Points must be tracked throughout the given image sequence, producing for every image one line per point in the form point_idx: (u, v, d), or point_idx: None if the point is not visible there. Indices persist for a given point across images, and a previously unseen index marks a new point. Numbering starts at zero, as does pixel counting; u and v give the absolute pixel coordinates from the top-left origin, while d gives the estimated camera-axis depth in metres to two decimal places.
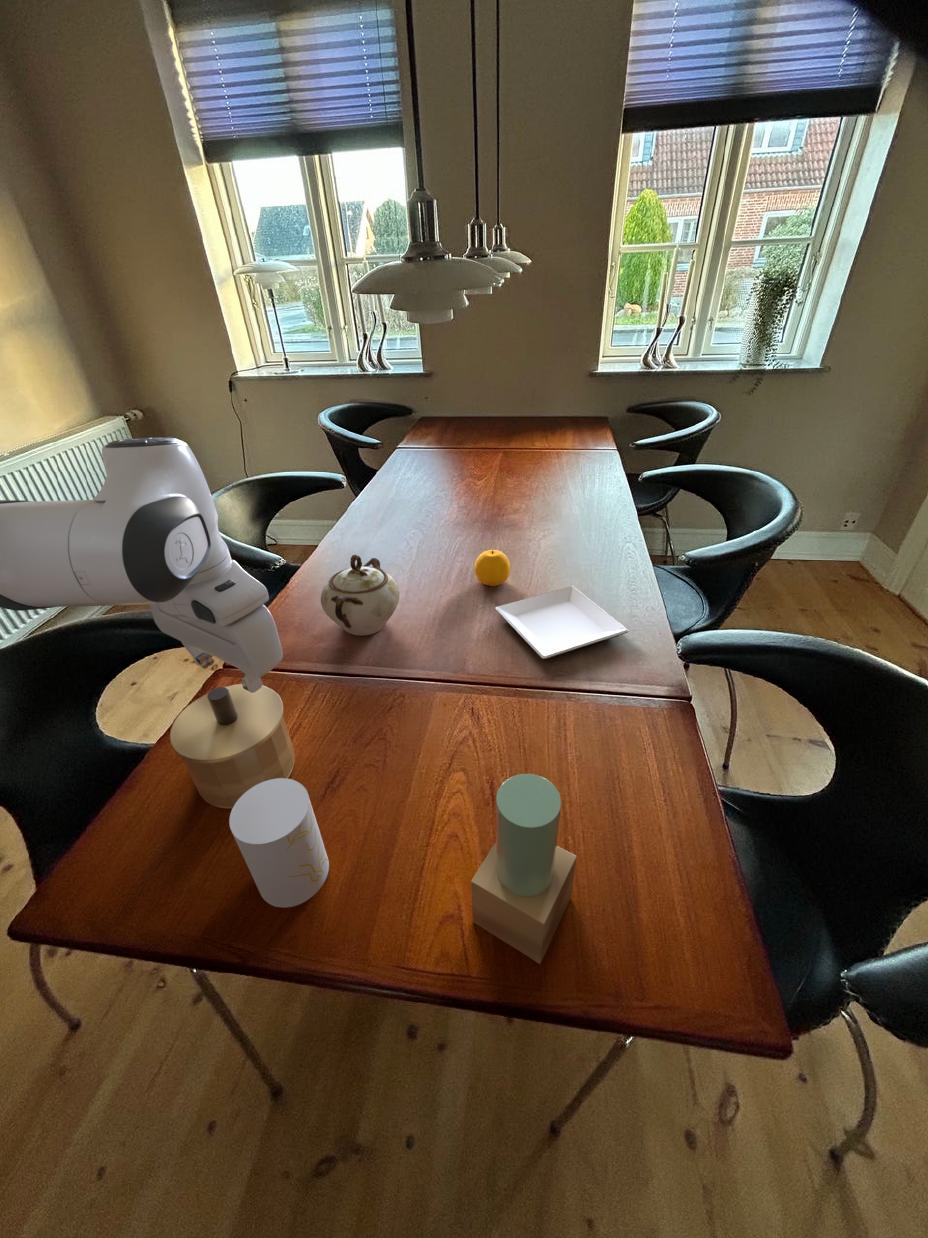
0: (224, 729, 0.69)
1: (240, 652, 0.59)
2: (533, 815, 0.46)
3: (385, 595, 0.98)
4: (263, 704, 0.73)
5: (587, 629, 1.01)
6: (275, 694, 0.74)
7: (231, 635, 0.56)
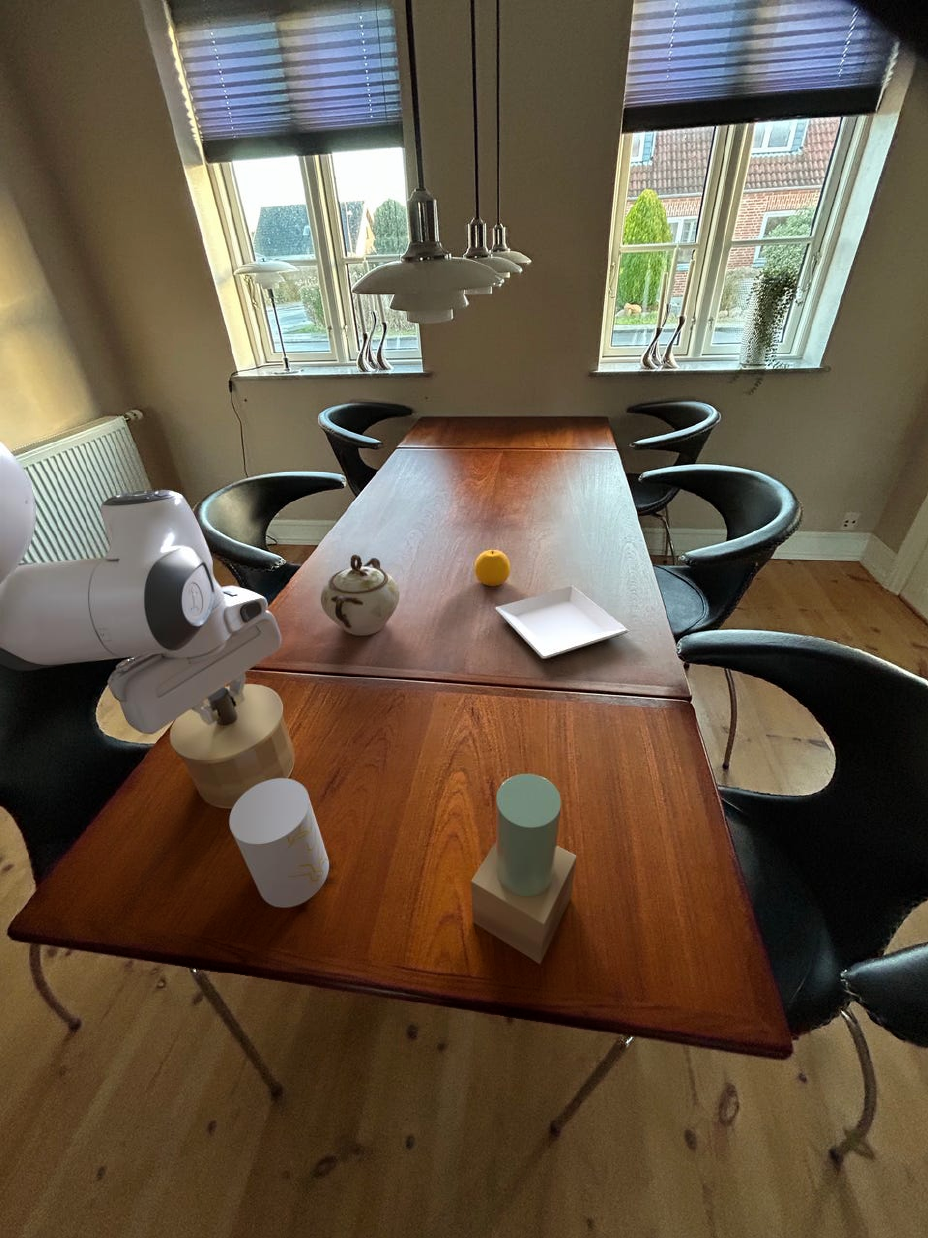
0: (224, 729, 0.69)
1: (265, 636, 0.70)
2: (533, 815, 0.46)
3: (385, 595, 0.98)
4: (263, 704, 0.72)
5: (587, 629, 1.01)
6: (275, 694, 0.74)
7: (267, 616, 0.68)
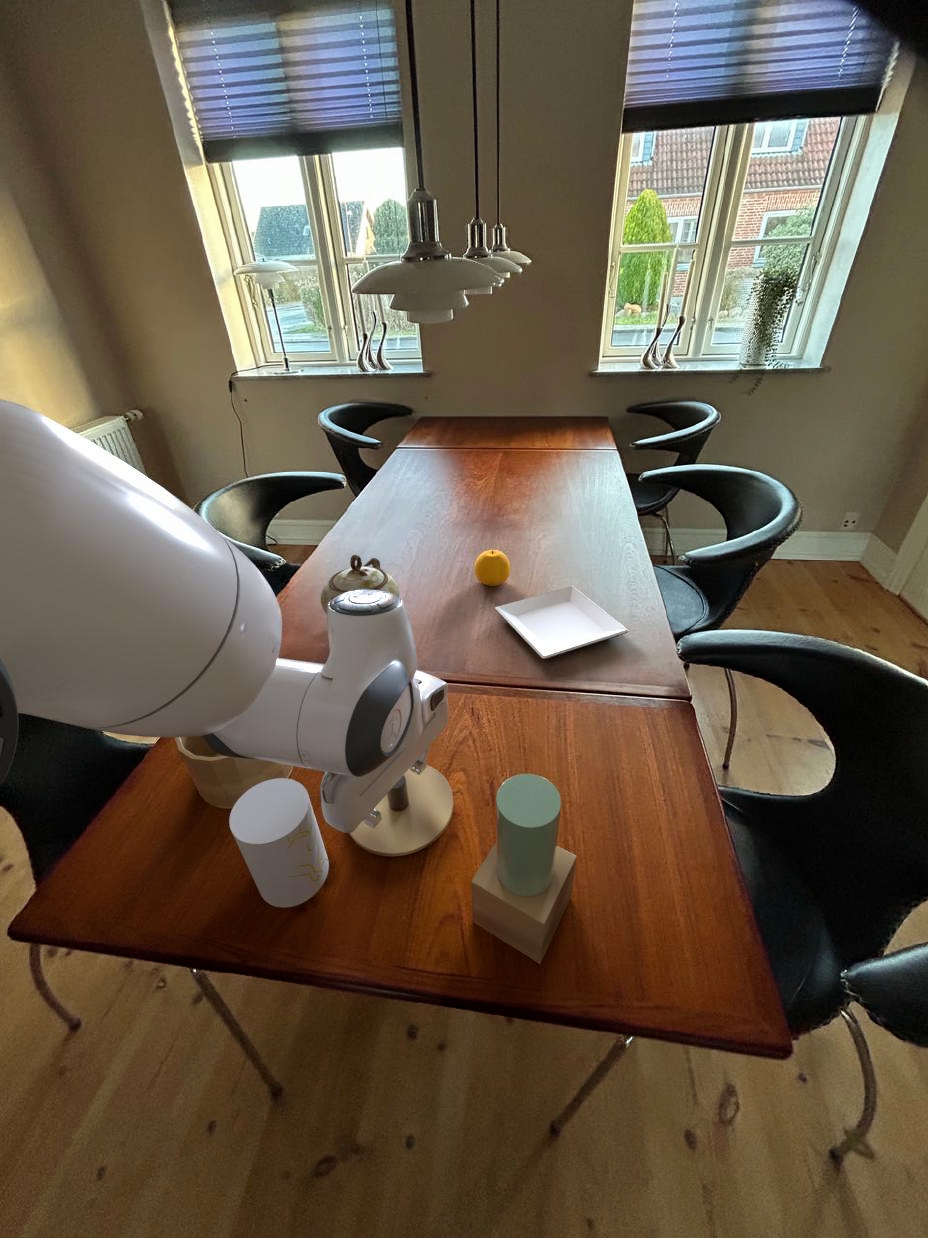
0: (399, 816, 0.67)
1: (438, 718, 0.68)
2: (533, 815, 0.46)
3: None
4: (430, 786, 0.71)
5: (587, 629, 1.01)
6: (439, 774, 0.73)
7: (444, 700, 0.67)
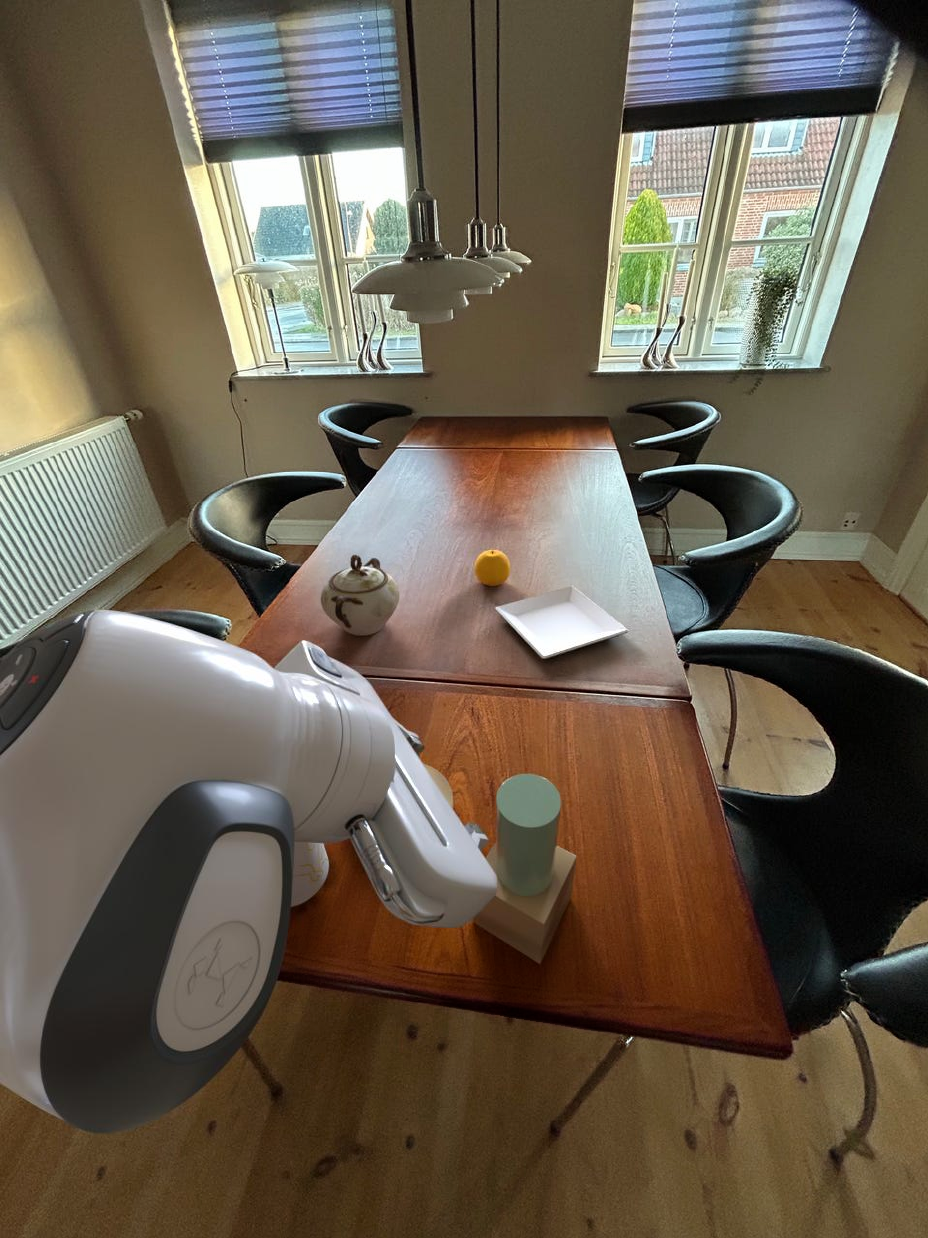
0: None
1: (353, 683, 0.40)
2: (533, 815, 0.46)
3: (385, 595, 0.98)
4: None
5: (587, 629, 1.01)
6: (439, 774, 0.73)
7: None
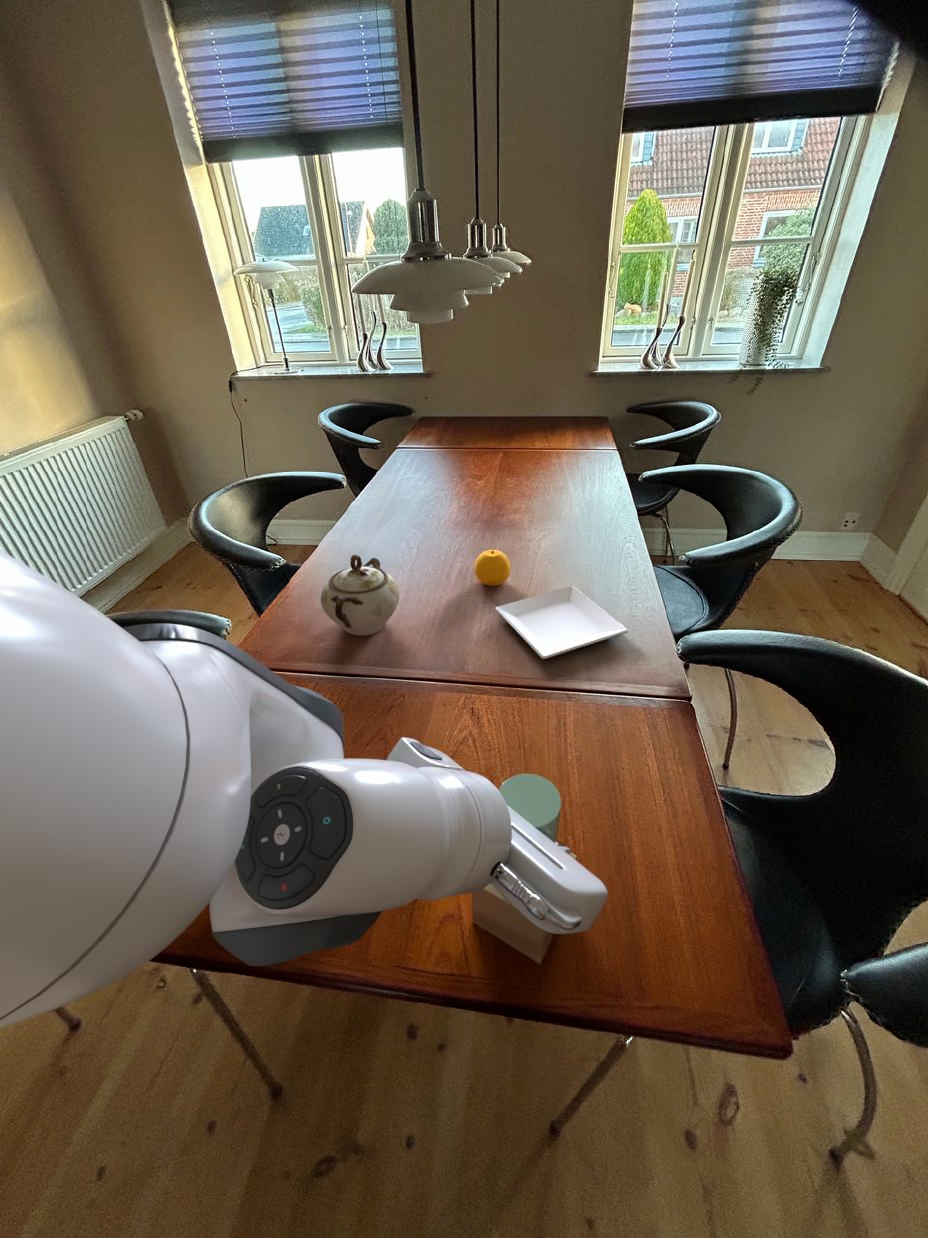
0: None
1: None
2: (533, 815, 0.46)
3: (385, 595, 0.98)
4: None
5: (587, 629, 1.01)
6: None
7: None
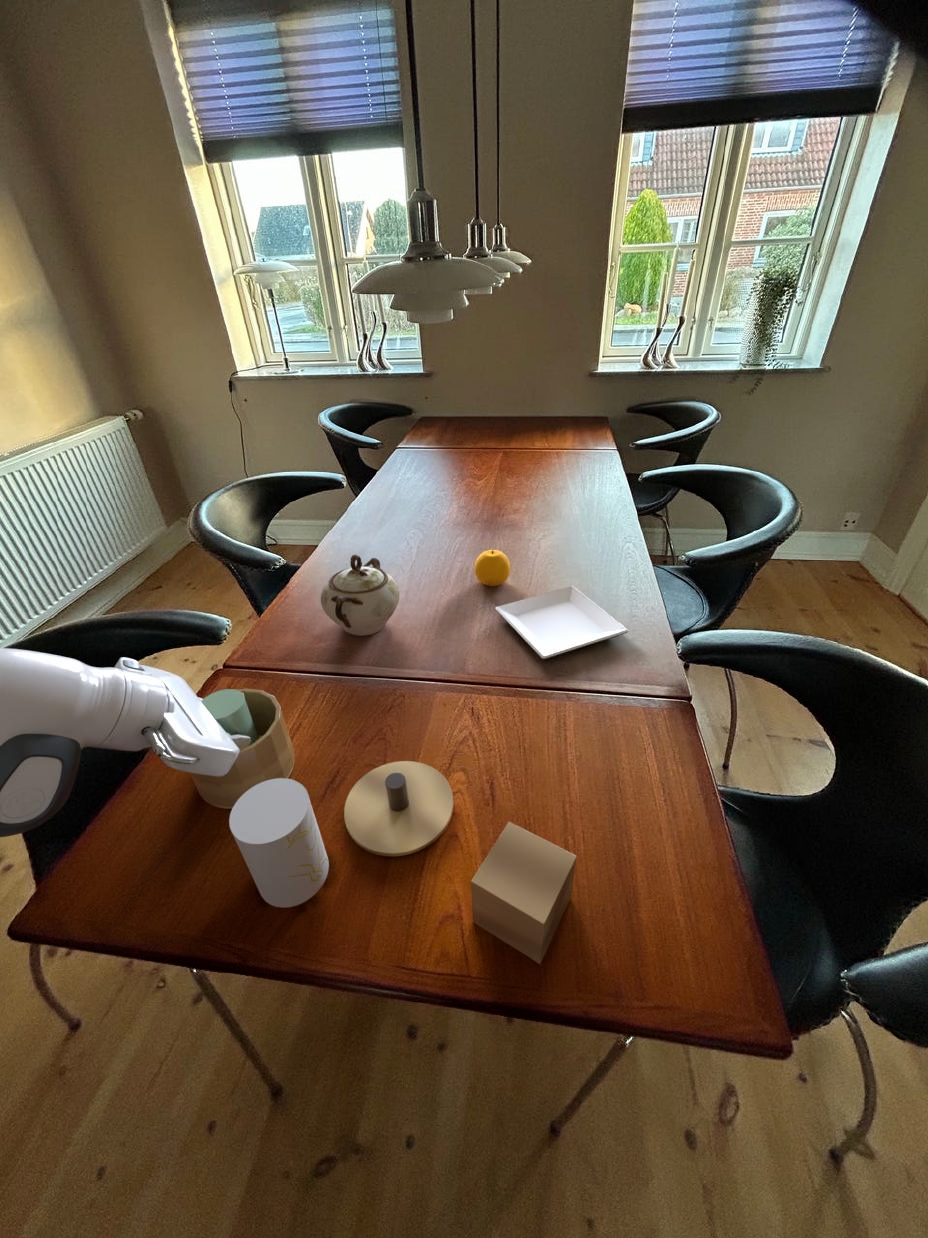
0: (399, 816, 0.67)
1: (165, 678, 0.71)
2: (217, 712, 0.68)
3: (385, 595, 0.98)
4: (430, 786, 0.71)
5: (587, 629, 1.01)
6: (439, 774, 0.73)
7: (144, 666, 0.69)
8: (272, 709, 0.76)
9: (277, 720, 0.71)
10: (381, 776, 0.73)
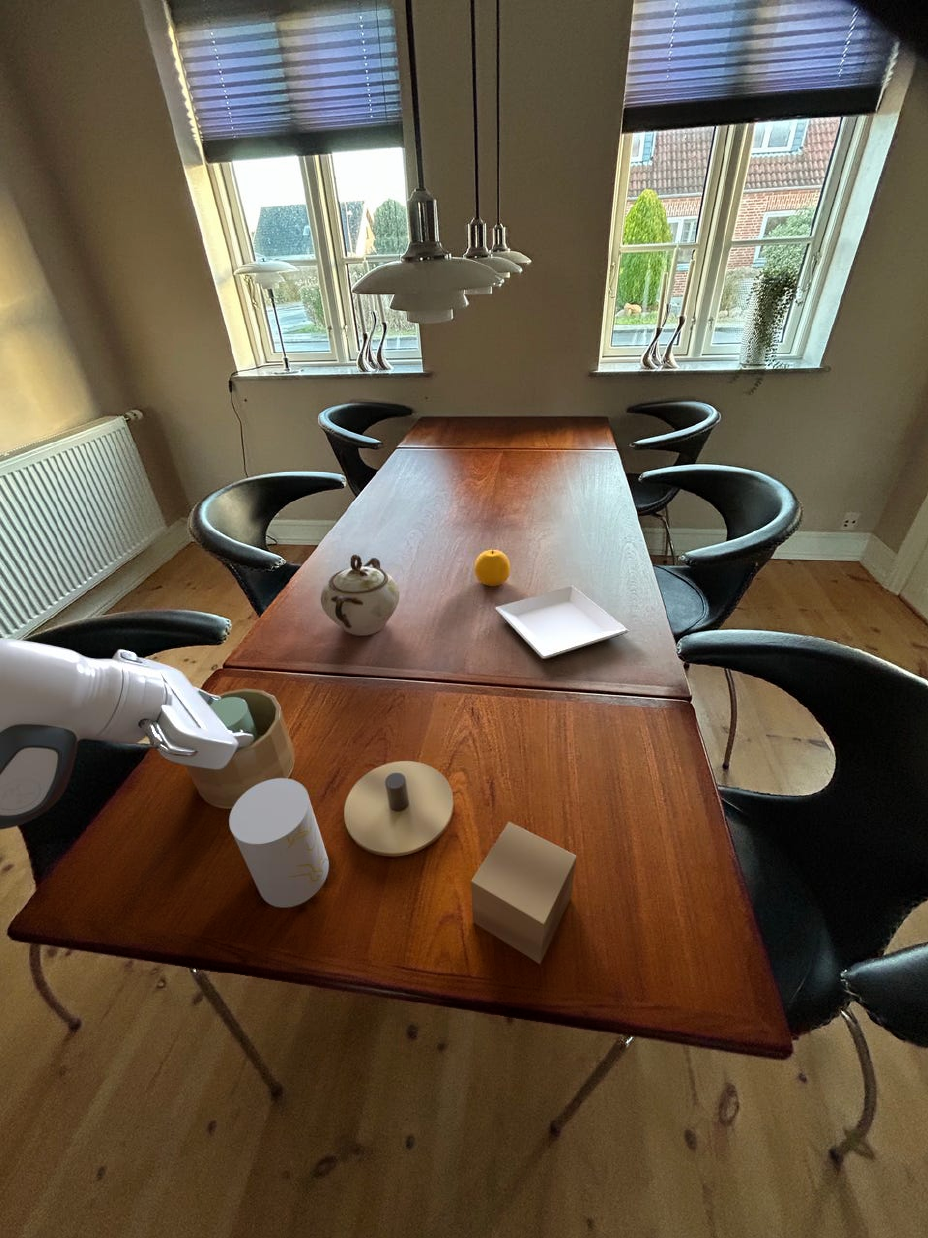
0: (399, 816, 0.67)
1: (163, 671, 0.70)
2: None
3: (385, 595, 0.98)
4: (430, 786, 0.71)
5: (587, 629, 1.01)
6: (439, 774, 0.73)
7: (142, 659, 0.68)
8: (272, 709, 0.76)
9: (277, 720, 0.71)
10: (381, 776, 0.73)
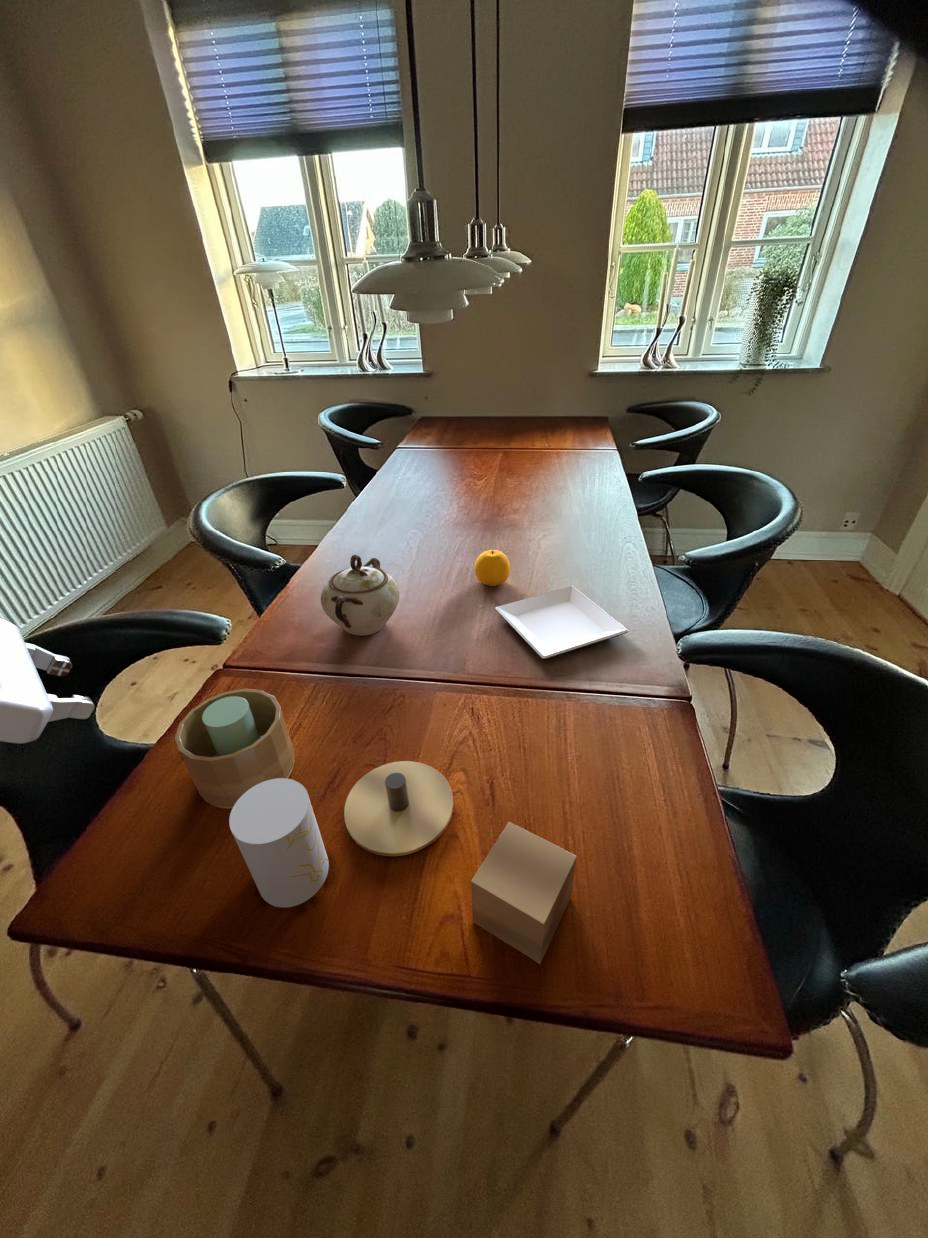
0: (399, 816, 0.67)
1: None
2: (222, 720, 0.68)
3: (385, 595, 0.98)
4: (430, 786, 0.71)
5: (587, 629, 1.01)
6: (439, 774, 0.73)
7: None
8: (272, 709, 0.76)
9: (277, 720, 0.71)
10: (381, 776, 0.73)
